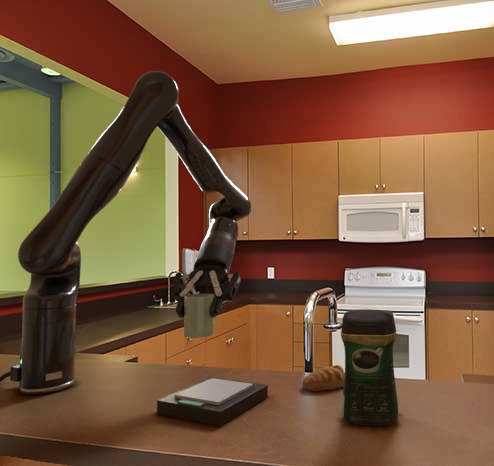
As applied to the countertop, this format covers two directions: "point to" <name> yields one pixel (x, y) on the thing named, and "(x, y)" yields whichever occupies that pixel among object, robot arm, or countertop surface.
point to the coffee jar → (369, 367)
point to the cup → (198, 316)
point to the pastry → (325, 378)
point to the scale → (212, 400)
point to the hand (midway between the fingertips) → (196, 315)
